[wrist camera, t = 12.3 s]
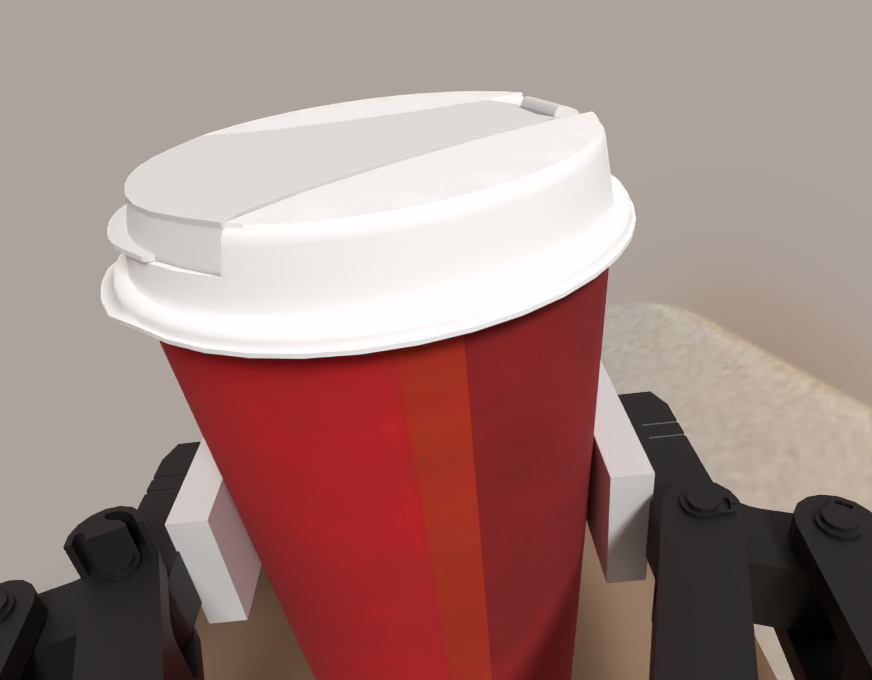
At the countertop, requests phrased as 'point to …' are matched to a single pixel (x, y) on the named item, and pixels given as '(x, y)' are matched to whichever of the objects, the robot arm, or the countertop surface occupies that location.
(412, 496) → the coffee cup
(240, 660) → the walnut board
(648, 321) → the countertop surface
